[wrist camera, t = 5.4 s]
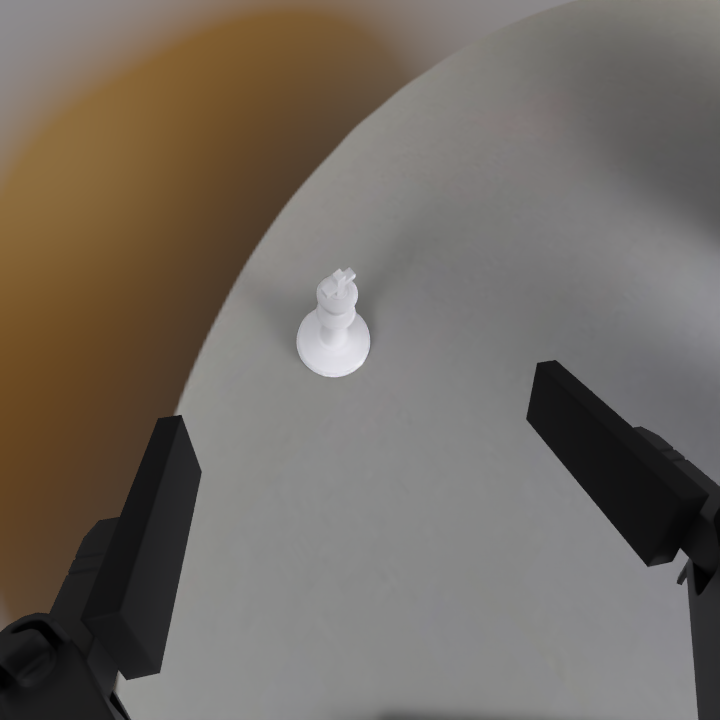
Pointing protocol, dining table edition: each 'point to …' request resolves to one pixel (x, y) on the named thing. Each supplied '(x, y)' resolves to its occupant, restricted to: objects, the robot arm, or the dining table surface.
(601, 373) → the dining table surface
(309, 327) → the chess piece
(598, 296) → the dining table surface
